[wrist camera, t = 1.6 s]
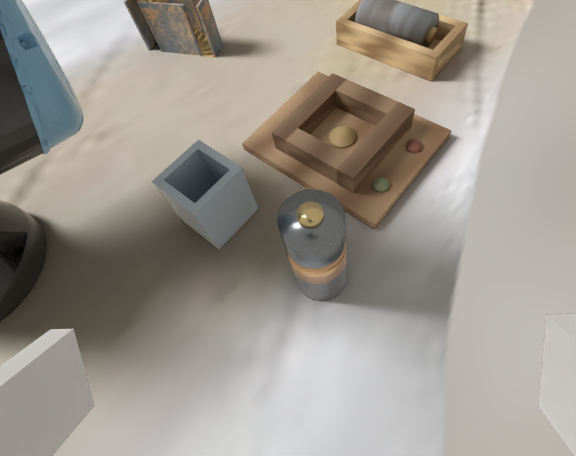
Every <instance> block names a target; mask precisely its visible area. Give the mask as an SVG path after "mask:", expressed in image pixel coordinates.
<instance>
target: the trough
mask: <svg viewBox="0 0 576 456" xmlns="http://www.w3.org/2000/svg"><path fill="white" fill-rule="evenodd" d="M467 26H468V23H465V22H462V21H459V20H456V19H452V18H449V17H446V16H443V15H439V14H438V13H435V12H431V11H428V10H425V9H422V8H418V7H415V6H412V5H409V4H405V3H402V2H399V1H396V0H359V1H358V2H357V3H356V4H355V5H354V6H353V7H352V8H351V9H349V10H348V11H347V12H346V13H345V14H344V15H343V16H342V17H341V18H340V19H338V20H337V21H336V32H337V44H338V45H340V46H343V47H345V48H348V49H350V50H353V51H355V52H358V53H361V54H363V55H366V56H368V57H371V58H373V59H376V60H378V61H381V62H383V63H386V64H388V65H391V66H394V67H396V68H399V69H401V70H404V71H406V72H409V73H411V74H414V75H416V76H419V77H421V78H424V79H427V80H429V81H432V80H433V79H434V78H435V76H436V75H437V74H438V73H439V72H440V71H441V70H442V69H443V68H444V66H445V65H446V64H447V63H448V62H449V61H450V60H451V59H452V57H453V56H454V55H455V54H456V53H457V52H458V51H459V50H460V49H461V47H462V43H463V40H464V36H465V33H466V29H467Z"/></svg>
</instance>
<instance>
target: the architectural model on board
mask: <svg viewBox="0 0 576 456" xmlns="http://www.w3.org/2000/svg"><path fill="white" fill-rule="evenodd" d="M124 3H125V5H126V7H127V9H128V11H129V13H130V15H131V17H132V19H133V21H134V23H135V24H136V26H137V28H138V30H139V32H140V34H141V36H142V38H143V40H144V42H145V44H146V46H147V48H148V49H149V50H151V49H152V48H153V46H154V45H155V44H156V42H157V43H158V45H159V47H160V49H161V52H173V53H182V54H192V55H200V56H208V57H213V58H214V57H216V56H217V54H218V53H219V51H220V50H221V48H222V46H223V44H222V41H221V38H220V35H219V32H218V29H217V25H216V22H215V19H214V16H213V13H212V10H211V7H210V4H209V1H208V0H125V1H124Z"/></svg>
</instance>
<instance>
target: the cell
mask: <svg viewBox="0 0 576 456" xmlns="http://www.w3.org/2000/svg"><path fill="white" fill-rule="evenodd" d="M277 222H278V227H279V231H280V233H281V236H282V239H283V242H284V245H285V250H286V253H287V256H288V259H289V262H290V264H291V267H292V269H293V271H294V274H295V277H296V280H297V283H298V286H299V288H300V290H301V291H302V292H303V293H304V294H305V295H306V296H307V297H309V298H311V299H313V300H317V301H325V300H330V299H332V298H334V297H336V296H337V295H338V294H340V292H341V291H342V290H343V288H344V286H345V284H346V258H347V253H346V235H345V213H344V209H343V207H342V205H341V203H340V202H339V200H338V199H337V198H336V197H334V196H333V195H332V194H330V193H328V192H325V191H321V190H305V191H301V192H298V193H296V194H294V195H292V196H291V197H289V198H288V199H287V200H286V201H285V202H284V203H283V205H282V206H281V208H280V210H279V213H278V218H277Z"/></svg>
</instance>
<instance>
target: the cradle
mask: <svg viewBox="0 0 576 456" xmlns="http://www.w3.org/2000/svg"><path fill="white" fill-rule="evenodd" d="M414 111H415V109H413V108H411V107H409V106H406V105H404V104H402V103H399V102H397V101H395V100H393V99H390V98H388V97H386V96H383V95H381V94H379V93H377V92H374V91H372V90H370V89H367V88H365V87H363V86H360V85H358V84H356V83H354V82H351V81H349V80H347V79H344V78H342V77H340V76H338V75H335V74H333V73H332V74H331V75H330V76H327V75H324V74H322V73H320V72H317V73H316V74H315V75H314V76H313V77H312V78H311V79H310V80H309V81H308V82H307V83H305V84H304V85H303V86H302V87H301V88H300V89H299V90H298V91H297V92H296V93H295V94H294V95H293V96H292V97H291V98H290V99H289V100H288V101H287V102H285V103H284V104H283V105H282V106H281V107H280V108H279V109H278V110H277V111H276V112H275V113H274V114H273V115H272V116H271V117H270V118H269V119H268V120H267V121H265V122H264V123H263V124H262V125H261V126H260V127H259V128H258V129H257V130H256V131H255V132H254V133H253V134H252V135H251V136H250V137H249V138H248V139H247V140H245V141H244V142H243V143H242V145H243V147H244V150H246V151H248V152H249V153H251V154H252V155H254V156H256V157H257V158H259V159H261V160H262V161H264V162H266V163H267V164H269V165H270V166H272V167H274V168H275V169H277V170H279V171H280V172H282V173H283V174H285V175H287V176H288V177H290V178H292V179H293V180H295V181H297V182H298V183H300V184H301V185H303V186H305V187H306V188H308V189H310V190H321V191H325V192H328V193H330V194H332V195H333V196H334V197H336V198H337V199H338V200H339V202H340V203H341V205H342V207H343V209H344V211H345V212H347V213H349V214H350V215H352V216H354V217H355V218H357V219H358V220H360V221H362V222H363V223H365V224H367V225H368V226H370V227H371V228H373V229H375V227H376V226H377V225H378V224H379V222H380V221H381V220H382V219H383V218H384V216H385V215H386V214H387V213H388V211H389V210H390V209H391V208H392V207H393V205H394V204H395V203H396V202H397V200H398V199H399V198H400V197H401V196H402V194H403V193H404V192H405V191H406V189H407V188H408V187H409V186H410V185H411V183H412V182H413V181H414V180H415V178H416V177H417V176H418V175H419V173H420V172H421V171H422V170H423V169H424V167H425V166H426V165H427V164H428V162H429V161H430V160H431V159H432V158H433V156H434V155H435V154H436V153H437V151H438V150H439V149H440V148H441V147H442V145H443V144H444V143H445V142H446V140H447V139H448V138H449V136H450V133H451V130H449V129H447V128H444V127H442V126H440V125H438V124H435V123H433V122H431V121H429V120H426V119H424V118H422V117H419V116H417V115H415V114H414Z"/></svg>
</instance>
